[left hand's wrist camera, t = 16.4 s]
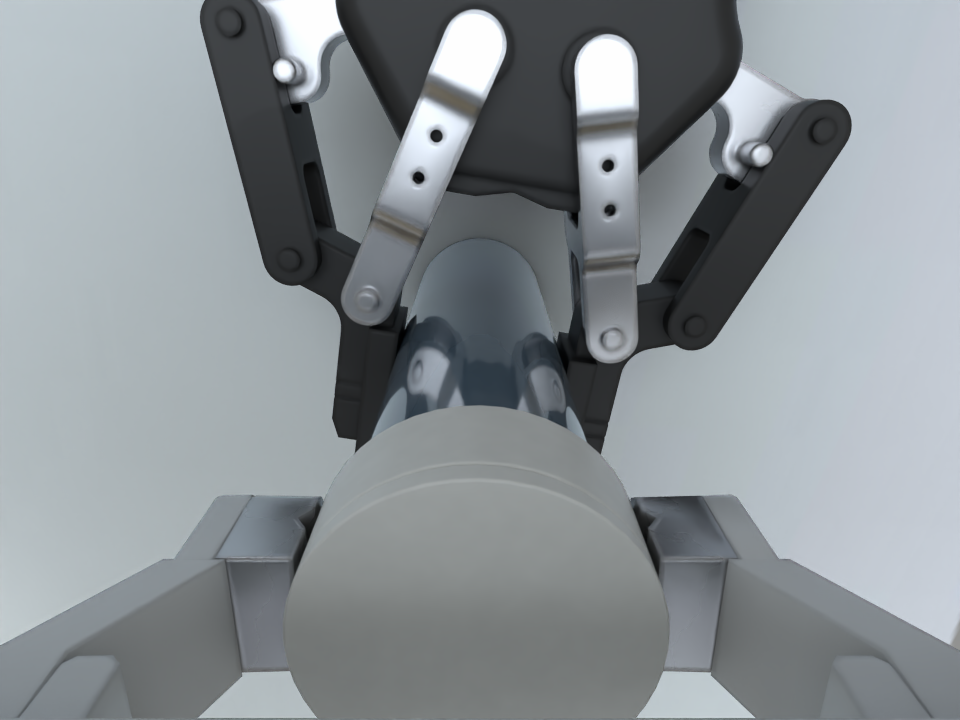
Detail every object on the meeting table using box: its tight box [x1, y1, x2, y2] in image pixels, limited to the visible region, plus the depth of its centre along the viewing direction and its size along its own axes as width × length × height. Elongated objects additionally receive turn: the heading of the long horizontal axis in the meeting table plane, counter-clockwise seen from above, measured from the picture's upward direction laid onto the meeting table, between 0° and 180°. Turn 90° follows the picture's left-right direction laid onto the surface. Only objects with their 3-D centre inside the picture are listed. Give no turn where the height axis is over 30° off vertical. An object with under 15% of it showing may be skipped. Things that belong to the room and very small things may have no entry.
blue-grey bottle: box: [368, 238, 588, 443], centre depth 16 cm, size 4×4×15 cm
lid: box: [283, 405, 670, 718], centre depth 9 cm, size 5×5×2 cm
